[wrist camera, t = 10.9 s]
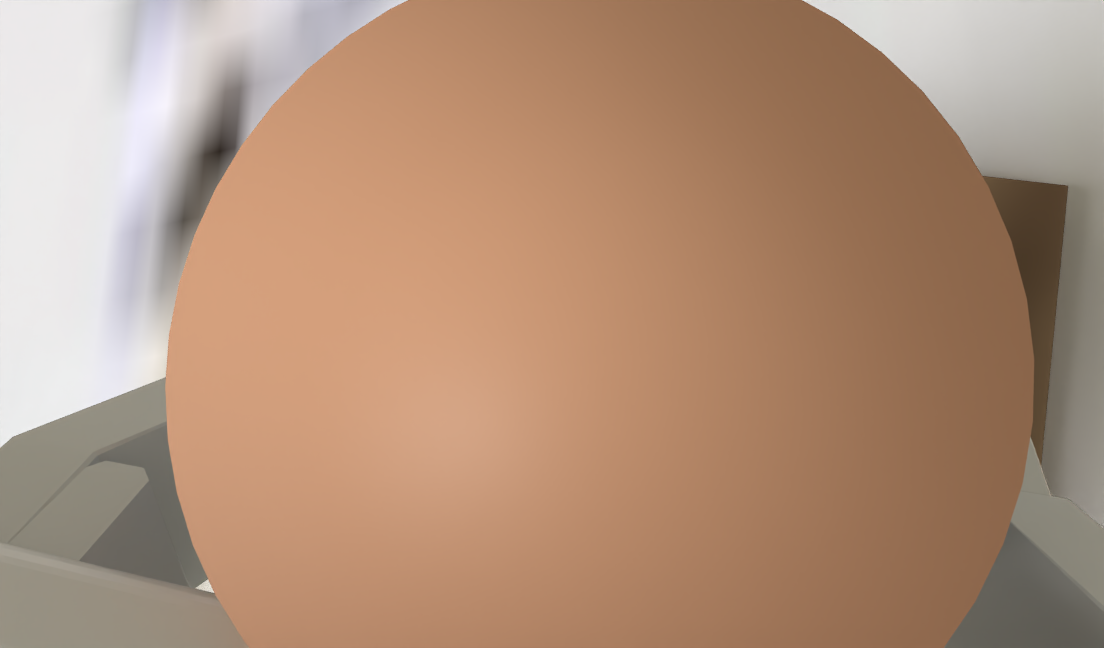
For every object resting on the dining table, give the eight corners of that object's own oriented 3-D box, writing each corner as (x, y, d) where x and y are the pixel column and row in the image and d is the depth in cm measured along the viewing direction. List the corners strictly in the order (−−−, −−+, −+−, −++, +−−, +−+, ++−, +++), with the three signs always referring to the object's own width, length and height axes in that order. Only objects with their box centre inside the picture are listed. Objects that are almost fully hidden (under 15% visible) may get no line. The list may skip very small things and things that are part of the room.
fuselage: (789, 338, 15) (1075, -17, 4) (754, 586, 14) (985, 944, 3) (552, 302, 16) (269, -73, 5) (509, 536, 15) (72, 694, 4)
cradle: (1047, 202, 21) (1145, 126, 17) (980, 863, 19) (1073, 986, 14) (462, 133, 24) (409, 53, 20) (340, 692, 22) (248, 749, 17)
